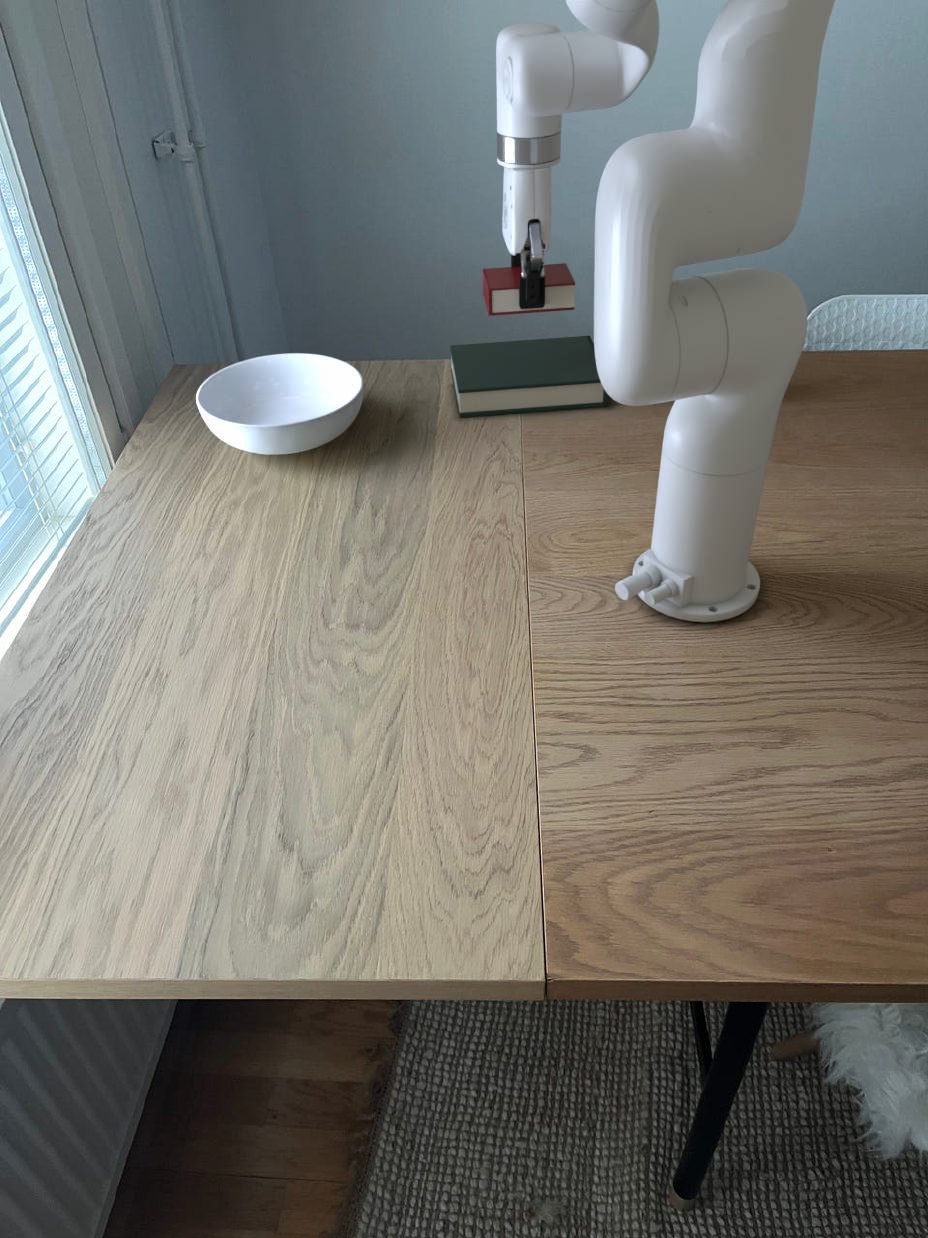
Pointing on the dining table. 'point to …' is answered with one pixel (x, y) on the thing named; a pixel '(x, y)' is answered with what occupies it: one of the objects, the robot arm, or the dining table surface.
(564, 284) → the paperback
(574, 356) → the hardcover
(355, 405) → the serving bowl
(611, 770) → the dining table surface
